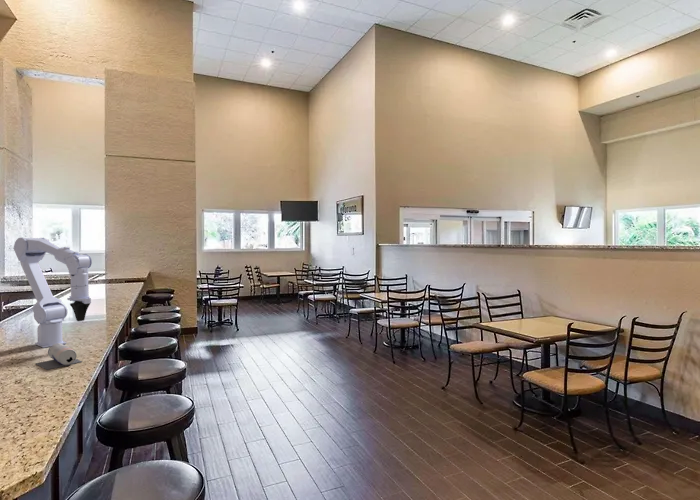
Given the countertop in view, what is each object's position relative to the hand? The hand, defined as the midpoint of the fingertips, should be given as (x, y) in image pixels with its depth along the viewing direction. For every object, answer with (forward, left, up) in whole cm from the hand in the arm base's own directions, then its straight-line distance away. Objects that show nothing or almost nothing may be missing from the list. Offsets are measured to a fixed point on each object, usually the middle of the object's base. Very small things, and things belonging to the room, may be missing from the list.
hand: (80, 320), depth 155 cm
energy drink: (+10, -11, -7) cm, 17 cm away
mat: (+16, -13, -10) cm, 23 cm away
